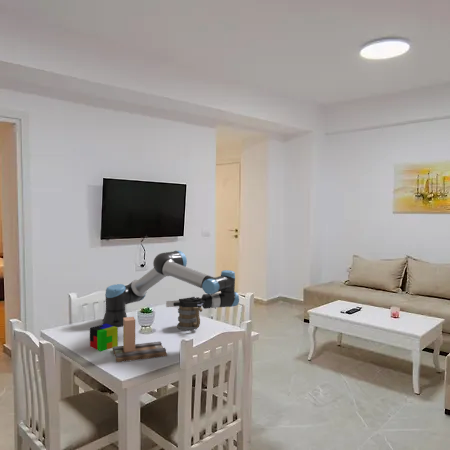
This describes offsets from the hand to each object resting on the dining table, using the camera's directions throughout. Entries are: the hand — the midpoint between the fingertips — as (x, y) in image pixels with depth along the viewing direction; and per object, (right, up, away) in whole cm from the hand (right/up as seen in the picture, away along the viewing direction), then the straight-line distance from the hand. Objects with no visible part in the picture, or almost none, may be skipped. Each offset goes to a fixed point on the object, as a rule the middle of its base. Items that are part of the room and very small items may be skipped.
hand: (166, 304), depth 209 cm
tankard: (+9, -22, +37) cm, 44 cm away
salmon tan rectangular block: (-18, -22, -5) cm, 29 cm away
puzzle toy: (-34, -23, +5) cm, 41 cm away
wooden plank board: (-13, -24, -3) cm, 28 cm away
